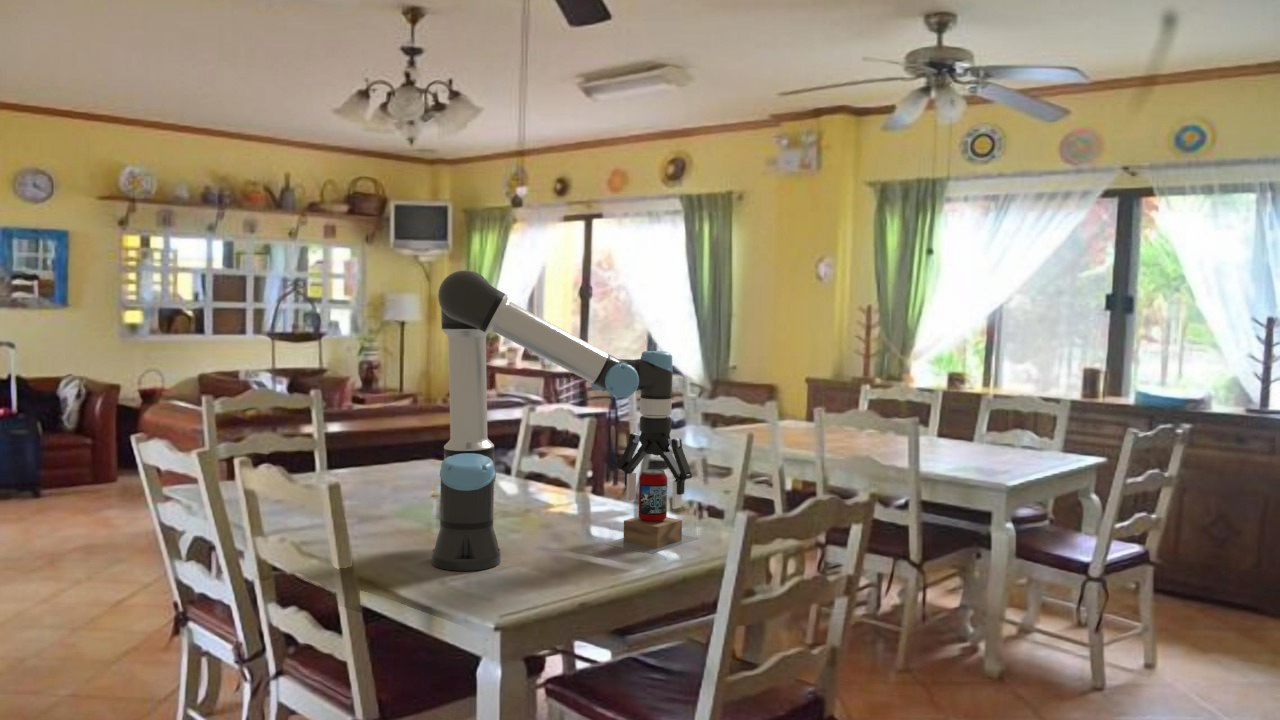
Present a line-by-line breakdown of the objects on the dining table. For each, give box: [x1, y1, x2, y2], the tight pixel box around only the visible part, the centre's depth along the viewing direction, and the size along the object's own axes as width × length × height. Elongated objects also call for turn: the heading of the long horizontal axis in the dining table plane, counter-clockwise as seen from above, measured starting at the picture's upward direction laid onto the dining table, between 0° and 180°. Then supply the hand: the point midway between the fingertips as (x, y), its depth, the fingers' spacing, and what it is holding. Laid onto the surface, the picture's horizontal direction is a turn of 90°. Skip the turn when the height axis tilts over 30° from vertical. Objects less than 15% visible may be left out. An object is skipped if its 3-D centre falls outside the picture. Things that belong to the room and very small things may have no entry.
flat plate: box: [603, 534, 701, 555], centre depth 244 cm, size 20×14×1 cm
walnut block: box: [623, 516, 683, 548], centre depth 244 cm, size 10×10×5 cm
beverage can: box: [638, 468, 668, 522], centre depth 243 cm, size 7×7×12 cm
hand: (653, 503), depth 243 cm, fingers open, 13 cm apart
